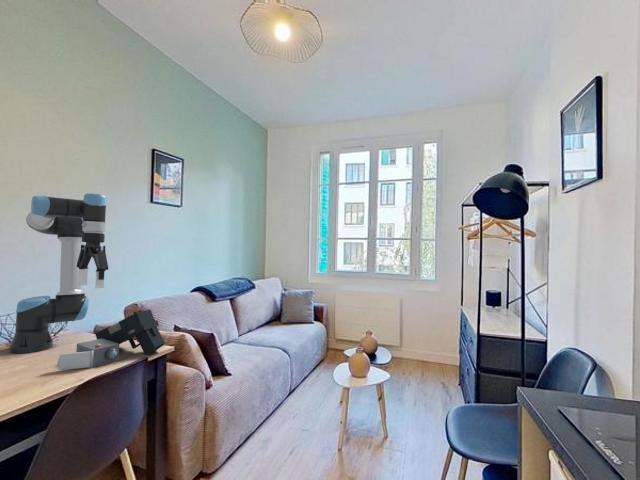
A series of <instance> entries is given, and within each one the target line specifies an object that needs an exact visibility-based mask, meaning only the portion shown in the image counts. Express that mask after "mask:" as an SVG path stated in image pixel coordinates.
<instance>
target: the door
mask: <svg viewBox="0 0 640 480" xmlns="http://www.w3.org/2000/svg"><path fill="white" fill-rule="evenodd" d="M93 352H94V351H93V350H92V351H88V352H68V353H59V355H58V356H59V357H58V359H57V365H58V371H65V370H75V369H76V370H77V369H84V368H90V369H91V368H94V367H93Z"/></svg>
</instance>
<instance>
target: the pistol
mask: <svg viewBox="0 0 640 480" xmlns="http://www.w3.org/2000/svg"><path fill="white" fill-rule="evenodd" d="M159 326H160V324H159V322H158V319H157V320H156V318H154V315H153V312H152V310H151V309H145V310H138V311H137V310H136V311H134V312H133V314H132V315H129V316H128V317H125V318H123V319H121V320H119V321H118V322H117V323H116V324H113V325H112V326H110V325H108V326H107V327H104V329H101V330H99V331H96V332H95V333H94V335H95V338H96V340H97V339H102V338H103V339H106V340H109V341H112V342H115V343H118V344H119V345H121V344H123V343H125V342H127V341H128V342H129V344H130V346H131V348H132V350H134V349H136V348H138V347H139V346H140V347H141V349H142V351H143V353H144V355H145V356H146V355H149V354H151V353H153V352H156V351H157V350H159V349H160V348H162V347H163V346H165V343H166V342H165V340H164V337H163V336H162V334H161V332H160V330H159V329H158V327H159ZM134 338H135V339H136V340H137V344H136V342H135V340H134Z"/></svg>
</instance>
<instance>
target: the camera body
mask: <svg viewBox="0 0 640 480" xmlns="http://www.w3.org/2000/svg"><path fill="white" fill-rule="evenodd" d="M75 350H76V352H88V351H92V350H93V351H94V352H93V367H92V368H96V367H99V366H104V365H106V364H110V363H114V362H117V361H119V360H120V344H118V343H115V342H112V341H109V340H106V339H103V338H102V339H97V338H96V339H94V340H93V339H91V340H88V341H83V342H78V343H76V349H75ZM76 352H75V353H76Z"/></svg>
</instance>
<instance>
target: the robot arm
mask: <svg viewBox="0 0 640 480" xmlns="http://www.w3.org/2000/svg"><path fill="white" fill-rule="evenodd" d="M30 202H31V204H30V205H31V206H30V212H28V214H27V215H26V218H25V219H26V220H25V221H26V224H27V225H28V227H29V228H31V229H32V230H33V231H36V232H38V233H40V234H45V235H50V236H51V235H52V236H54V235H56V236H57V238H56V239H57V240H58V241H59V242H60V267H59V268H60V271H59V291H58V292H56V294H55V298H51V296H50V295H40V296H32V297H28V298H27V297H26V298H23V299H21V300H19V301H18V302H17V304H16V310H15V312H16V315H15V332H14V335H13V338H12V340H11V342H10V344H9V347H8V352H10V353H11V354H27V353H35V352H40V351H44V350H47V349H49V348H52V347H53V344H54V343H53V339H52V335H51V332H50V329H49V328H50V324H57V323H59V324H60V323H67V322H68V323H69V322H76V321H81V320H84V319H85V317H86V315H87V314H88V311H89V305H90V301H89V300H90V299H89V298H90V297H89V296H87V295H86V292H84V290H82V286H87V285H88V276H89V274H88V273H89V264H90V262H91V259H93V261H94V264H95V267H96V270H95V282H94V283H95V285H94V286H95V289H104V288H105V271H108V270H109V264H108V263H109V262H108V260H107V254H106V253H107V252H106V245H102V244H101V243H105V236H106V233H105V232H106V216H107V215H106V213H107V212H106V211H107V204H108V203H107V197H106V196H105V195H104V194H98V193H90V192H89V193H85V194H84V195H83V199H75V198H73V199H72V198H62V197H54V196H46V195H33V197H32V199H31V201H30ZM104 233H105V234H104ZM83 243H85V244H83Z"/></svg>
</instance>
